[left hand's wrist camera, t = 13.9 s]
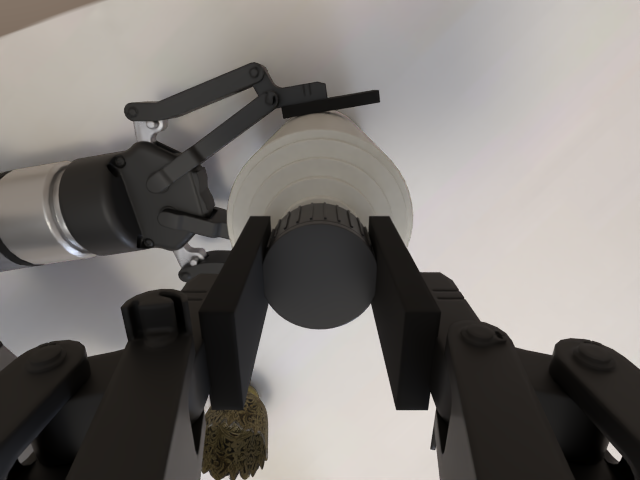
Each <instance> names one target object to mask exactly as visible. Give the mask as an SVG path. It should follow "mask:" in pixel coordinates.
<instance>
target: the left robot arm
mask: <svg viewBox="0 0 640 480" xmlns="http://www.w3.org/2000/svg"><path fill="white" fill-rule="evenodd" d="M368 234H369V237H370V240H371V243H372V248H373V251H374V254H375V258H376V261H377V272H376V289H375V296H374V299H373V301H372V302H371V305H372V309H373V314H374V318H375V322H376V326H377V331H378V335H379V339H380V343H381V348H382V352H383V356H384V360H385V365H386V369H387V373H388V377H389V381H390V386H391V390H392V394H393V398H394V403H395V407H396V410H428V406H429V399H430V392H431V394H432V397H433V400H434V403H435V405H436V414H435V420H434V427H433V434H432V441H431V448H430V449H431V450H435V449H437V458H438V467H439V476H440V480H640V369H639V368H637V367H636V366H635V365H634V364H633V363H631V362H630V361H629V360H628V359H626V358H625V357H624V356H622V355H621V354H619V353H618V352H616V351H615V350H613V349H611V348H609V347H606V346H604V345H602V344H600V343H598V342H595V341H590V340H586V339H575V338H569V339H564V340H560V341H559V342H558V343H557V344H555V348H554V351H553V355H548V354H543V353H538V352H533V351H528V350H523V349H520V348H516V347H515V346H514V344H513V342H512V340H511V339H510V338H509V336H508V335H507V334H506V333H505V332H503V331H502V330H500V329H499V328H498V327H495V326H493V325H490V324H488V323H485V322H481V321H480V320H479V318H478V317H477V315H476V314H475V313H474V311H473V310H472V308H471V307H470V305H469V304H468V302H467V301H466V299H464V297H463V295H462V294H461V292H459V289H458V288H457V286H456V285H455V283H454V282H453V281H452V280H451V279H449V278H448V277H446V276H445V275H443V274H442V273H440V272H419V270H418V268H417V266H416V264H415V262H414V261H413V259H412V257H411V255H410V253H409V251H408V249H407V248H406V246H405V244H404V242H403V240H402V238H401V237H400V235H399V233H398V231H397V229H396V227H395V225H394V224H393V222H392V220H391V218H390V216H369V227H368ZM270 235H271V216H250V217H249V219H248V221H247V223H246V225H245V226H244V228H243V230H242V232H241V234H240V236H239V238H238V239H237V241H236V243H235V245H234V247H233V249H232V250H231V252H230V254H229V256H228V258H227V260H226V262H225V263H224V265H223V267H222V269H221V271H220V273H219V274H198V275H197V276H195V277H194V278H192V279H191V280H189V281H188V282H187V283H186V284H185V286H184V287H183V289H182V290H181V291H178V290H174V289H159V290H153V291H148V292H145V293H142V294H139V295H136V296H135V297H133V298H131V299H129V300H128V301H126V302H125V303H124V304H123V306H122V307H121V311H122V316H123V320H124V325H125V329H126V334H127V338H128V343H127V345H126V347H125V349H123V350H119V351H115V352H110V353H105V354H100V355H95V356H90V357H87V353H86V350H85V346H84V345H82V344H81V343H80V342H77V341H72V340H62V341H53V342H50V343H45V344H42V345H39V346H38V347H36V348H33V349H31V350H29V351H27V352H25V353H24V354H22V355H21V356H19V357H18V358H16V359H15V360H13V361H12V362H11V363H10V364H9V365H7V366H6V367H5V368H4V369H3V370H1V371H0V480H200V477H201V468H202V459H203V450H204V440H205V431H206V420H205V414H204V406H205V403H206V401H207V398H208V395H210V402H211V409H212V410H243V409H244V405H245V401H246V397H247V392H248V388H249V384H250V380H251V375H252V371H253V367H254V363H255V359H256V354H257V350H258V346H259V342H260V337H261V333H262V329H263V325H264V320H265V316H266V312H267V308H268V304H269V303H268V301H267V299H266V298H265V295H264V279H263V260H264V257H265V254H266V251H267V249H266V246H267V243H268V240H269V237H270ZM609 441H610V443H611V444H612V445H613V446H614V447H615V448H616V449H617V450H618V452H619V453H620V454H621V455H622V458H621V460H620V462H618V461H617V460H616V459H615V458H614V457H613V456H612V455H611V454H610V453H609V452H608V450H607V446H608V444H609ZM30 444H31V445H32V448H33V452H32V453H31V454H30V456H29V457H28V458H27V459H26V460H25V461H23V462H22V463H20V462H19V460H18V457H19V456H20V455H21V454H22V453H23V452H24V450H25V449H26V448H27V447H28V446H29V445H30Z"/></svg>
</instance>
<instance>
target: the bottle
mask: <svg viewBox="0 0 640 480" xmlns="http://www.w3.org/2000/svg"><path fill="white" fill-rule="evenodd" d="M324 202H326V204H332V205H338V206H339V207H341V208H344V209H345V210H350V213H352V214H353V215H354V216H355V217H356V218H357V217H358V218H359V219H360V222H361V223H362V224H363V226H364V227H365V226H366V228H367V231H368V227H369V216H390V218H391V220H392V222H393V224H394V225H395V227H396V229H397V231H398V233H399V235H400V237H401V238H402V240H403V242H404V244H405V246H406V248H407V247H408V244H409V241H410V238H411V232H412V226H413V209H412V202H411V197H410V193H409V190H408V188H407V185H406V183H405V180H404V179H403V177H402V175H401V173H400V171H399V170H398V169H397V167H396V166H395V165H394V163H393V162H392V161H391V160H390V159H389V158H388V157H387V156H386V155H385V154H384V153H383V152H382V151H381V150H380V149H379V147H378V146H377V145H376V144H375V143H374V142H373V141H372V140H371V139H370V138H369V137H368V136H367V135H366V134H365V133H364V132H363V131H362V130H361V129H360V128H359V127H358V126H357V125H356V124H355V123H354V122H353V121H352V120H351V119H350V118H348V117H347V116H346V115H344V114H342V113H340V112H338V111H335V110H332V111H326V112H320V113H314V114H308V115H302V116H296V117H292V118H290V119H289V120H288V121H287V122H286V123H285V124H284V125H283V126H282V127H281V128H280V129H279V130H278V131H277V132H276V133H275V134H274V135H273V136H272V137H271V138H270V139H269V140H268V141H267V142H266V143H265V144H264V145H263V146H262V147H261V148H260V149H259V150H258V151H257V152H256V153H255V154H254V155H253V156H252V157H251V158H250V160H249V161H248V162H247V163H246V164H245V165H244V167H243V168H242V170H241V171H240V173H239V175H238V176H237V178H236V180H235V182H234V185H233V187H232V189H231V193H230V196H229V200H228V207H227V227H228V234H229V238H230V241H231V245H232V247H234V245H235V243H236V241H237V239H238V238H239V236H240V234H241V232H242V230H243V228H244V226H245V225H246V223H247V221H248V219H249V217H250V216H271V232H272V229H275V227H276V225H277V224H278V221H279V219H282V218H283V217H284V216H285V215H287V213H288V212H289V211H290V212H291V211H292V210H294V209H296V208H298V207H299V206H300V205H301V206H304V205H307V204H311V203H324Z"/></svg>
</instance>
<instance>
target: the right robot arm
mask: <svg viewBox="0 0 640 480" xmlns="http://www.w3.org/2000/svg"><path fill="white" fill-rule="evenodd" d="M251 87H254V89H255V91H256V92H257V94H258V97H257V98H256V99H254V100H253V101H252V102H250V103H249V104H248V105H246V106H245V107H244V108H242V109H241V110H240V111H238V112H237V113H236V114H234V115H233V116H232V117H230V118H229V119H228V120H227V121H225V122H224V123H223V124H221V125H220V126H219V127H217V128H216V129H215V130H213V131H212V132H211V133H209V134H208V135H207V136H205V137H204V138H203V139H201V140H200V141H199V142H197V143H196V144H195V145H193V146H192V147H190V148H189V149H187V150H186V151H185V152H183V153H181V152H179V151H177V150H175V149H173V148H170V147H168V146H166V145H164V144H162V143H160V142H158V141H156V135H157V133H159V132H160V131H163V130H165V129H166V128H167V126H168V120H167V119H171V118H176V117H180V116H183V115H185V114H188V113H190V112H192V111H195V110H197V109H200V108H202V107H205V106H207V105H210V104H212V103H214V102H217V101H219V100H222V99H224V98H227V97H229V96H231V95H234V94H236V93H239V92H241V91H244V90H246V89H249V88H251ZM379 102H380V97H379V90H371V91H365V92H359V93H354V94H348V95H342V96H336V97H330V98H327V91H326V84H325V83H321V82H313V83H308V84H302V85H296V86H291V87H285V88H281V87H278V86H277V85H275V84H274V82H273V81H272V79H271V77H270V75H269V73H268V70H267V69H266V67H264V66H263V65H261V64H258V63H255V62H254V63H249V64H247V65H245V66H242V67H240V68H238V69H235V70H233V71H230V72H228V73H226V74H223V75H221V76H218V77H216V78H214V79H211V80H209V81H207V82H204V83H202V84H199V85H197V86H195V87H192V88H190V89H187V90H185V91H183V92H180V93H178V94H176V95H173V96H171V97H168V98H166V99H164V100H161V101H147V102H134V103H128V104H127V105H126V106H125V108H124V113H125V116H126V117H127V118H128V119H129V120H131V121H133V122H134V128H135V133H136V139H137V143H135V144H134V145H133V146H132V147H131V148H130V149H128V150H126V151H121V152H115V153H109V154H103V155H97V156H92V157H86V158H80V159H76V160H74V161H72V162H71V161H62V162H56V163H50V164H45V165H39V166H33V167H27V168H21V169H15V170H12V171H7V172H4V173H0V272H2V271H8V270H14V269H20V268H26V267H32V266H39V265H45V264H52V263H59V262H66V261H73V260H80V259H87V258H93V257H95V256H97V255H99V256H106V255H112V254H119V253H125V252H132V251H139V250H145V249H150V248H162V249H166V250H169V251H173V252H174V254H175V256H176V258H177V260H178V262H179V264H180V266H181V268H182V269H181V270H180V271H179V274H178V276H179V278H180V279H181V280H182V281H183V282H188V281H189V280H191V279H192V278H194V277H195V276H197V275H198V274H219V273H220V271H221V269H222V267H223V265H224V263H225V262H226V260H227V258H228V256H229V254H230V252H231V251H225V250H215V251H209V252H206V251H205V249H203V248H193V247H191V246H190V245H189V244H188V241H189V240H190V239H191V238H192V237H193V236H194V235H195V234H199V235H203V236H207V237H211V238H216V237H222V238H226V239H230V238H229V234H228V227H227V210H225V209H222V208H218V207H214V206H215V203H214V200H213V196H212V194H211V193H210V191H209V189H208V187H207V174H206V170H205V167H202V166H201V165H200V164H202V163H203V162H204V161H206V160H207V159H208V158H210V157H211V156H212V155H214V154H215V153H216V152H218V151H219V150H220V149H222V148H223V147H224V146H226V145H227V144H228V143H230V142H231V141H232V140H234V139H235V138H237V137H238V136H239V135H241V134H242V133H243V132H245V131H246V130H247V129H249V128H250V127H251V126H253V125H254V124H256V123H257V122H258V121H260V120H261V119H262V118H264V117H265V116H266V115H268V114H269V113H270V112H272V111H273V110H274V109H276V108H282V113H283V119H285V118H291V117H296V116H302V115H308V114H314V113H320V112H326V111H332V110H338V109H343V108H349V107H355V106H361V105H367V104H373V103H379ZM16 358H18V357H16V356H15V355H14V354H13V353H12V352H11V351H9V350H8V349H7V348H6V347H5V346H4V345H3V344H2V342H1V341H0V371H1V370H3V369H4V368H5V367H6V366H7V365H9V364H10V363H11V362H12V361H13V360H15V359H16ZM32 452H33V448H32V445H31V444H30V445H29V446H28V447H27V448H26V449H25V450H24V452H23V453H22V454H21V455H20V456H19V457H18V460H19V462H20V463H22V462H23V461H25V460H26V459H27V458H28V457H29V456H30V454H31V453H32Z"/></svg>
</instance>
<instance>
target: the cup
mask: <svg viewBox="0 0 640 480" xmlns="http://www.w3.org/2000/svg"><path fill="white" fill-rule="evenodd" d="M205 420H206V431H205V440H204V450H203V459H202V468H201V471H202V473H203V474H205V473H206V472H208V471H209V472H210V475H211V476H212V477H213V478H214V479H215V480H221V479H222V478H224V477H225V476H228V475H230V478H229V479H230V480H235V479H236V477H237V475H238V474H239V473H240V476H241V477H242V479H244V480H245V479H247V478H248V477H249V476H250V474H251V476H252V477H253V476H254V475H255V473H256V471H257V469H258V468H259V466H260V467H261V469H263V466H264V461H267V459H268V417H267V412H266V409H265V406H264V404H263V403H262V401H261V400H260V399H259V396H258V393H257V391H256V390H255V388H253V387H252V386H250V385H249V388H248V392H247V397H246V401H245V405H244V409H243V410H212V409H211V406H210V408H209V409H208V411H207V413H206V414H205Z"/></svg>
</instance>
